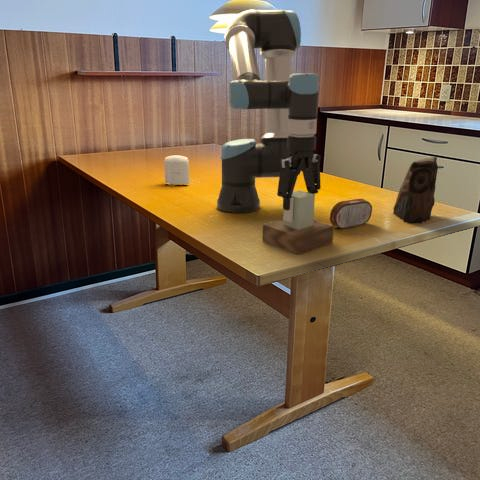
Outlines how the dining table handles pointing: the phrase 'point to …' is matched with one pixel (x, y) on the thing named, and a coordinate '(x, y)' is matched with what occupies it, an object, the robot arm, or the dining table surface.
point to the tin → (350, 213)
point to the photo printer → (176, 170)
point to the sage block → (301, 210)
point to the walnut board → (298, 236)
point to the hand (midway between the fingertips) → (298, 217)
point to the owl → (417, 192)
